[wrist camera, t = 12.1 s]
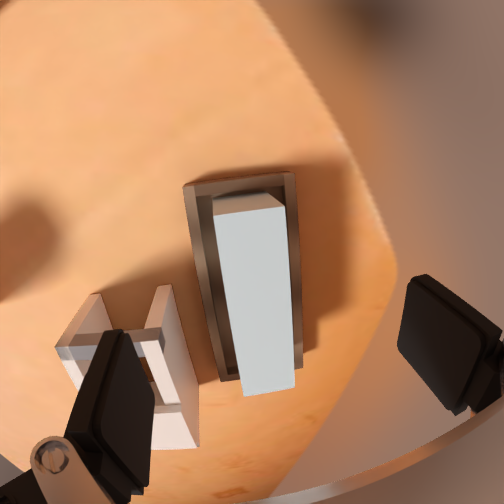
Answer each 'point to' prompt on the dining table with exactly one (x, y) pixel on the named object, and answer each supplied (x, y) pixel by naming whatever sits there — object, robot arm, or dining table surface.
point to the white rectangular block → (257, 288)
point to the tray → (209, 261)
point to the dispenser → (158, 357)
